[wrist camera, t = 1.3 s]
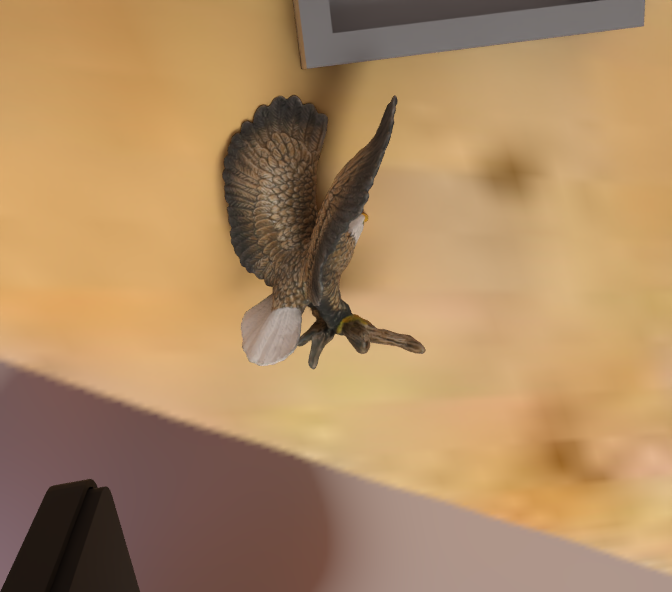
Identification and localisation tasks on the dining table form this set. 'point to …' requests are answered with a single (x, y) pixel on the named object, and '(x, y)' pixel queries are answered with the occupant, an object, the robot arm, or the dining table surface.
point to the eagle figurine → (299, 230)
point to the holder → (444, 25)
